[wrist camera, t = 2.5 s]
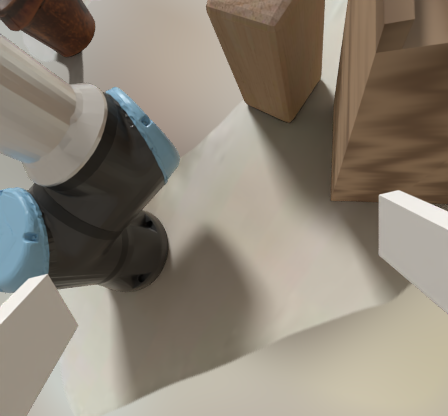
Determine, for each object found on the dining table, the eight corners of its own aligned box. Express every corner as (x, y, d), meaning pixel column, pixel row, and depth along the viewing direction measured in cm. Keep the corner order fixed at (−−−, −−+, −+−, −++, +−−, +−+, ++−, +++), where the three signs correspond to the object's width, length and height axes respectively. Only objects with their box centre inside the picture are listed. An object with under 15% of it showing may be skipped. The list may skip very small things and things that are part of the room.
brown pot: (109, 48, 62) (35, -31, 46) (48, 77, 68) (-38, 17, 51) (108, -6, 67) (40, -96, 50) (51, 26, 72) (-27, -45, 56)
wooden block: (273, 59, 47) (249, -72, 29) (323, 77, 44) (332, -60, 25) (243, 105, 47) (199, 4, 29) (290, 126, 44) (275, 27, 25)
